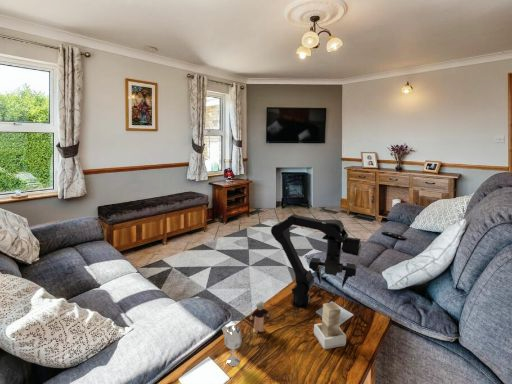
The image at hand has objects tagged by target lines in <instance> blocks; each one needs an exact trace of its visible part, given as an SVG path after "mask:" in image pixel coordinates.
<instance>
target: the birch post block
mask: <svg viewBox="0 0 512 384" xmlns="http://www.w3.org/2000/svg"><path fill="white" fill-rule="evenodd" d="M340 318H341V308H340V307H339V306H338V305H337V303H336V302H334V301H332V302H326V303H322V316H321V323H322V330H321V332H322V333H323V334H324V336H325V337H326V338H327V337H333V336H338V334H339V327H340Z"/></svg>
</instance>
